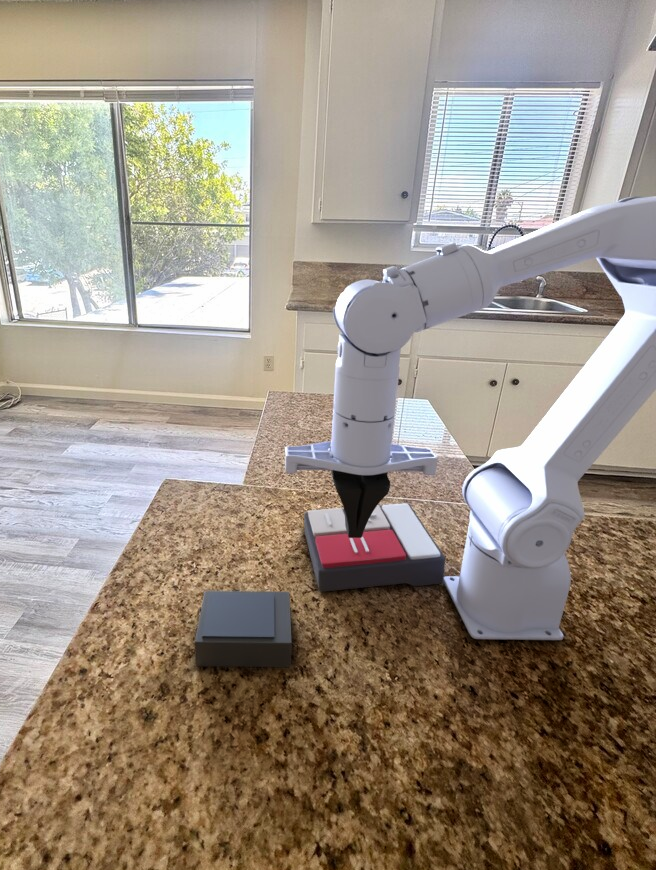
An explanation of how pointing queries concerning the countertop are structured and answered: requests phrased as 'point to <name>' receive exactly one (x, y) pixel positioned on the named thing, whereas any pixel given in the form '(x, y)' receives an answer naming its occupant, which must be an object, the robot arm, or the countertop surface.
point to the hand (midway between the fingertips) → (353, 531)
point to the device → (244, 629)
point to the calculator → (372, 549)
